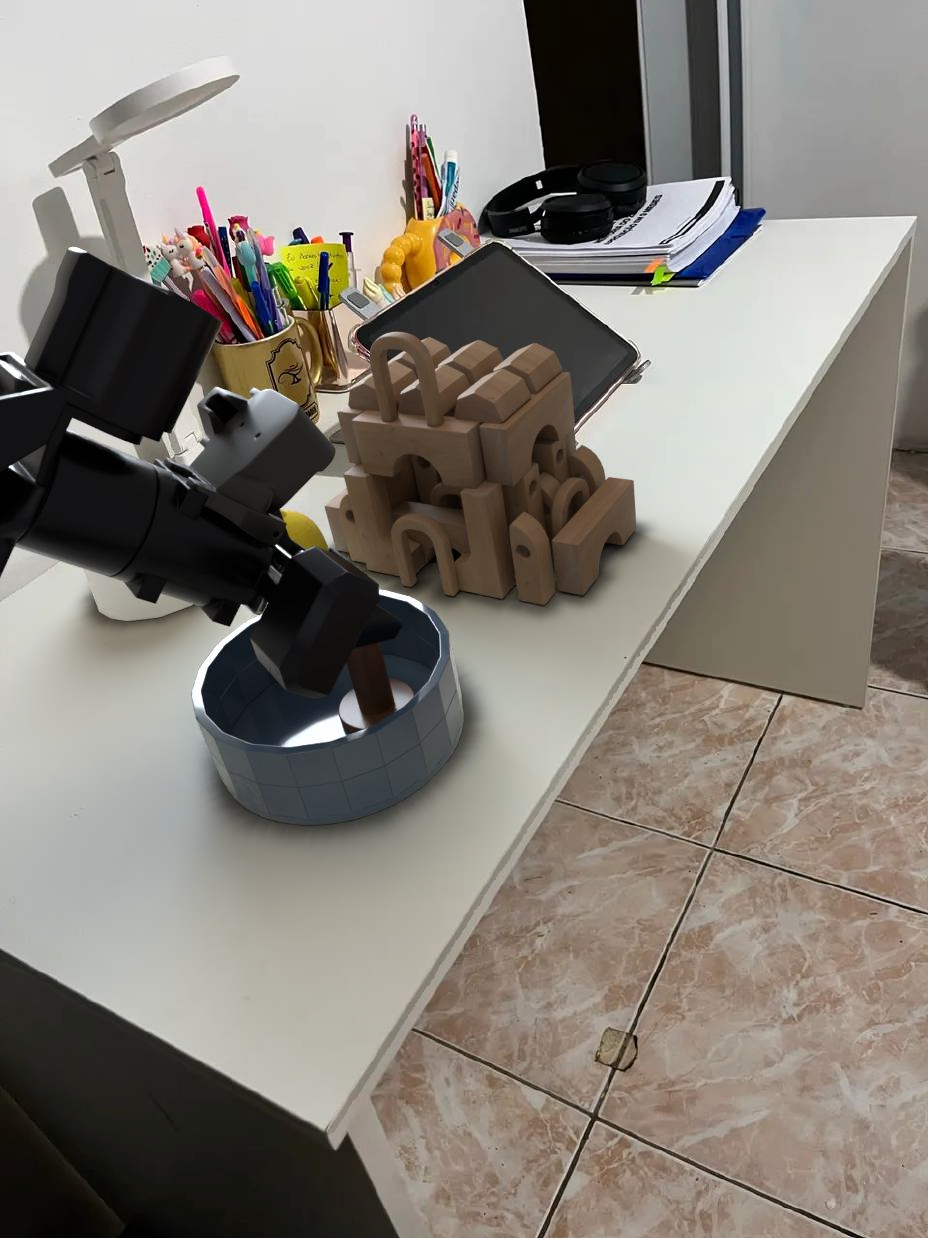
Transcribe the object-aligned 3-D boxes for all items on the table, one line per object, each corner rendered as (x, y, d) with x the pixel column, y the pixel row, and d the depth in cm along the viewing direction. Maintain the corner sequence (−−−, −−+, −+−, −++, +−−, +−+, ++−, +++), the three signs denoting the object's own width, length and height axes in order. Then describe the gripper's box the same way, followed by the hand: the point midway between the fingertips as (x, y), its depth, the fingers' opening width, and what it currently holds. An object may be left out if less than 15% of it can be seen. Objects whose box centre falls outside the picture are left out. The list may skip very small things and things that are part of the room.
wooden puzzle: (647, 516, 74) (635, 273, 63) (564, 621, 64) (534, 356, 54) (415, 482, 85) (372, 270, 74) (315, 567, 75) (249, 338, 65)
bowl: (360, 862, 50) (336, 789, 47) (169, 774, 58) (138, 706, 55) (510, 690, 59) (498, 619, 56) (328, 635, 67) (309, 570, 64)
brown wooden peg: (385, 747, 56) (348, 609, 50) (324, 724, 58) (282, 590, 53) (431, 698, 59) (401, 562, 53) (372, 678, 62) (337, 547, 56)
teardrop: (229, 533, 82) (185, 403, 75) (230, 599, 73) (180, 459, 66) (102, 563, 81) (45, 435, 75) (87, 635, 72) (21, 496, 65)
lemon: (275, 588, 74) (246, 497, 69) (345, 579, 73) (320, 487, 69) (263, 629, 69) (231, 535, 65) (337, 620, 69) (310, 525, 64)
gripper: (286, 414, 37) (539, 544, 47) (138, 326, 50) (361, 442, 61) (163, 663, 38) (435, 735, 49) (51, 512, 52) (284, 594, 62)
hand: (374, 610), depth 55 cm, fingers open, 5 cm apart
